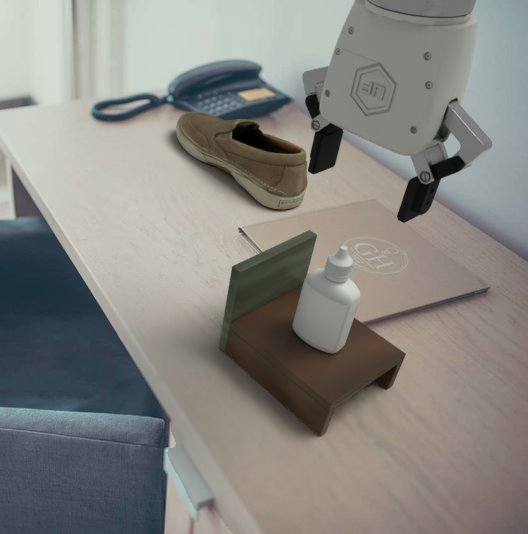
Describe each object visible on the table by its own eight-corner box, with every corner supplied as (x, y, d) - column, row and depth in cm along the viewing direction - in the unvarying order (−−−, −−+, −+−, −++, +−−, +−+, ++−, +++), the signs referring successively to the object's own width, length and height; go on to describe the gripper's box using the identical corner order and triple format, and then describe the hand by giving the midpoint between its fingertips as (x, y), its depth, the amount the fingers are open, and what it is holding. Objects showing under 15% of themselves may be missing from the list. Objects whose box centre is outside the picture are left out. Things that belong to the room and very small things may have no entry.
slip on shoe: (164, 134, 116) (167, 87, 110) (217, 124, 120) (223, 78, 114) (257, 220, 95) (267, 166, 90) (318, 204, 99) (331, 152, 94)
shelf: (392, 385, 70) (427, 303, 63) (319, 437, 65) (348, 353, 57) (289, 308, 80) (309, 229, 72) (218, 347, 74) (231, 266, 67)
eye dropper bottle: (311, 359, 66) (338, 268, 59) (287, 323, 70) (309, 233, 63) (348, 352, 67) (380, 262, 60) (323, 317, 71) (349, 228, 64)
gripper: (297, -30, 51) (263, 164, 61) (509, 30, 40) (423, 253, 50) (358, -40, 54) (316, 144, 65) (567, 12, 43) (476, 223, 54)
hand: (363, 191), depth 57 cm, fingers open, 9 cm apart
